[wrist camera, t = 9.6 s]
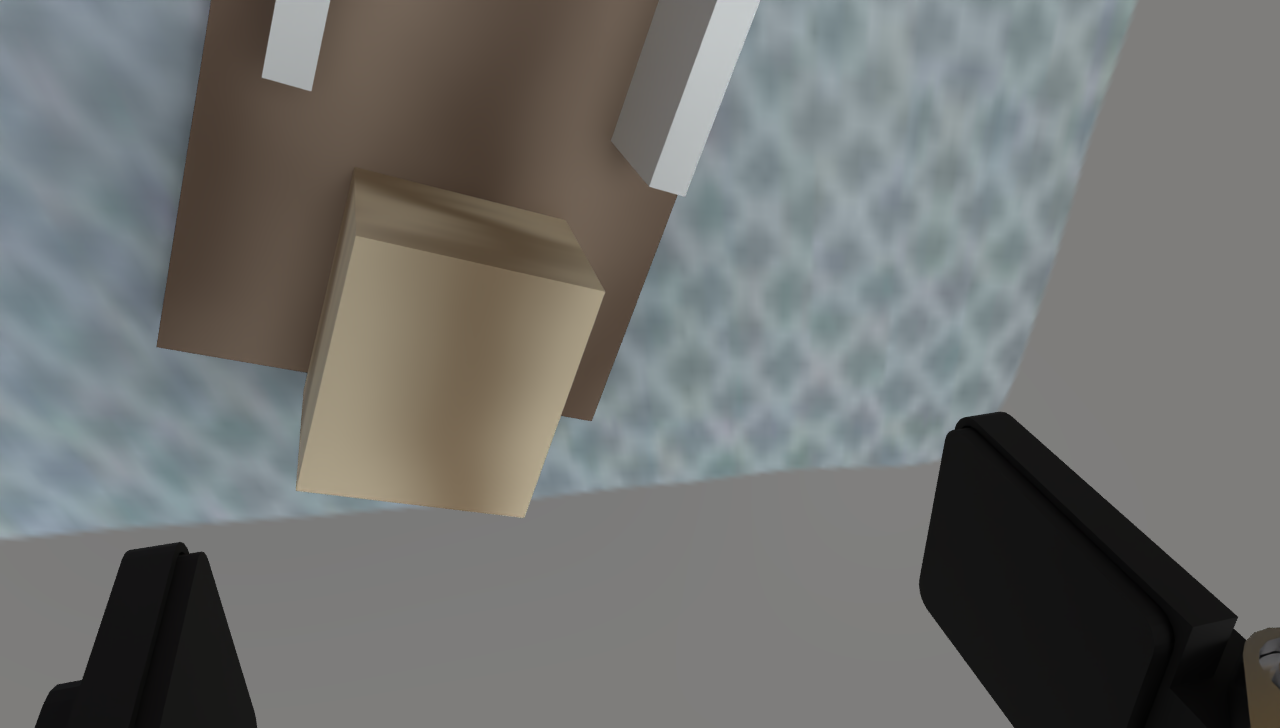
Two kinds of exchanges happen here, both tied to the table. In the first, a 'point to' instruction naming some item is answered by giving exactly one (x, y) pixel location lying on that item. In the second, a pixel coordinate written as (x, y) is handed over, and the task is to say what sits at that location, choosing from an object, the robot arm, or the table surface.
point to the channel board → (434, 145)
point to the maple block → (442, 349)
